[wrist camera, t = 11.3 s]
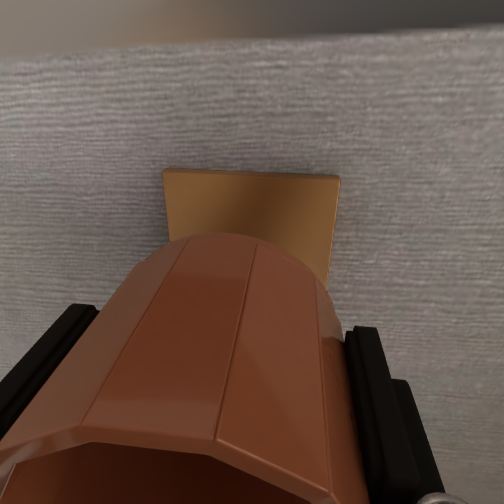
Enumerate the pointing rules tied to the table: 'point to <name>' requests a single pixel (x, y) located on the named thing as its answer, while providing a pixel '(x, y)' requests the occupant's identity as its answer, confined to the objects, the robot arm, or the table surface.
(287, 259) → the terracotta pot
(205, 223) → the coaster
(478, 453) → the table surface
